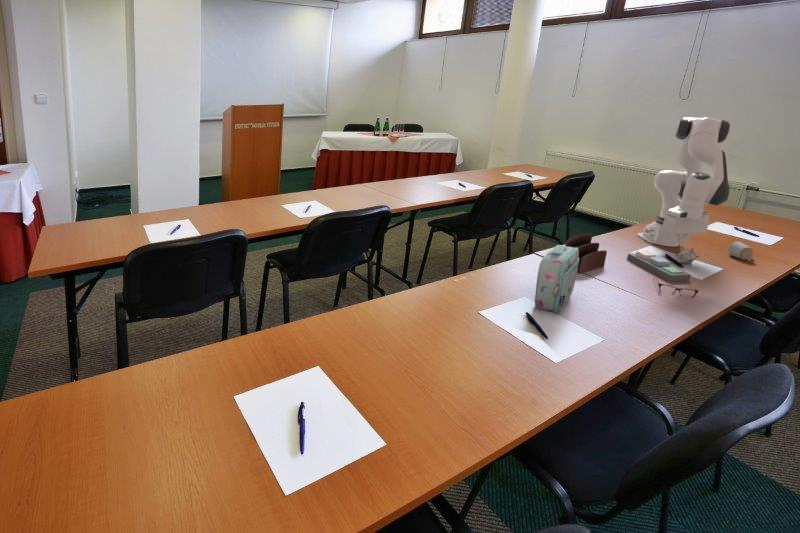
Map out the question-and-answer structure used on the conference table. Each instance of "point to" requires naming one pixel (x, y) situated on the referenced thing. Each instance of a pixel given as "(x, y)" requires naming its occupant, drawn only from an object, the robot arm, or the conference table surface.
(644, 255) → the cream button
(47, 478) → the conference table surface
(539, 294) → the lunch box
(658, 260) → the slate blue button
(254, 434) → the conference table surface
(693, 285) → the eyeglasses
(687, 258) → the game die
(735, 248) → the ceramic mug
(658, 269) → the button panel
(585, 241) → the letter holder
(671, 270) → the green button
